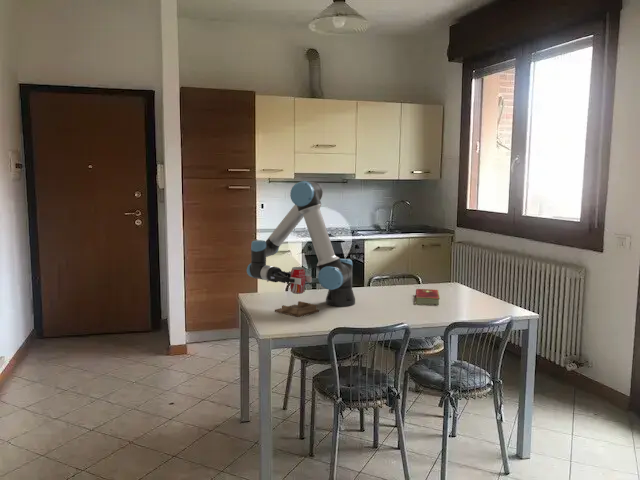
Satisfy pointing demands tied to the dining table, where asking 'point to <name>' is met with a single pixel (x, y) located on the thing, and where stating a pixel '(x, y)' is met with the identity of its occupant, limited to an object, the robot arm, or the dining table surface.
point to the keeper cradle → (298, 309)
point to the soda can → (299, 273)
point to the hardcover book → (427, 296)
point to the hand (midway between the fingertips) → (305, 280)
